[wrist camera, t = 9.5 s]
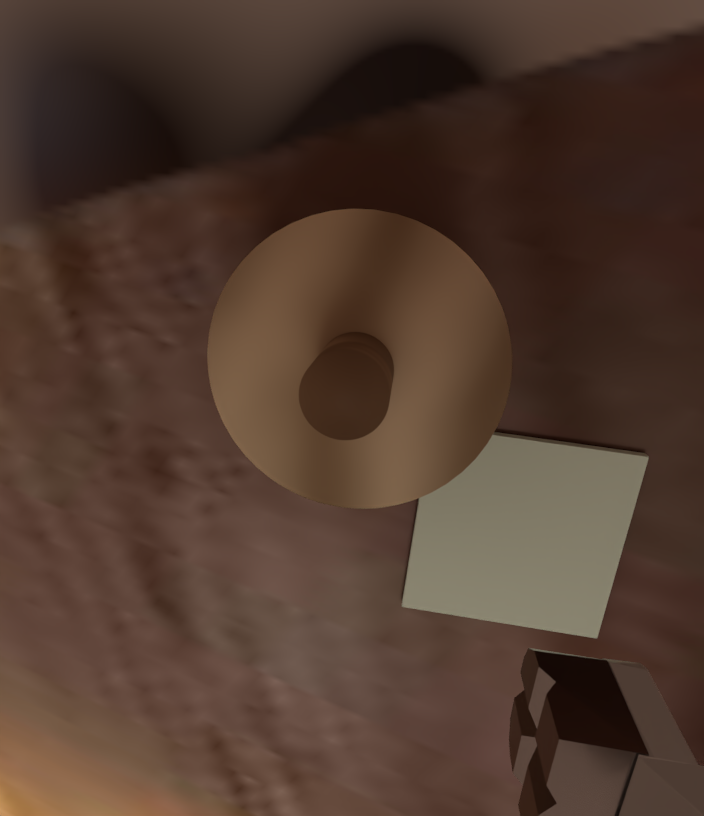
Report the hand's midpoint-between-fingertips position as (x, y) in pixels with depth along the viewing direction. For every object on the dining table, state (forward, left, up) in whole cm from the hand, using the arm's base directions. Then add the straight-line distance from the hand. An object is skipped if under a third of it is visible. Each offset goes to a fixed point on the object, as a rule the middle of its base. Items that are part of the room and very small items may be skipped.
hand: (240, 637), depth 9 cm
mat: (-10, +10, -25) cm, 29 cm away
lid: (0, 0, -17) cm, 17 cm away
